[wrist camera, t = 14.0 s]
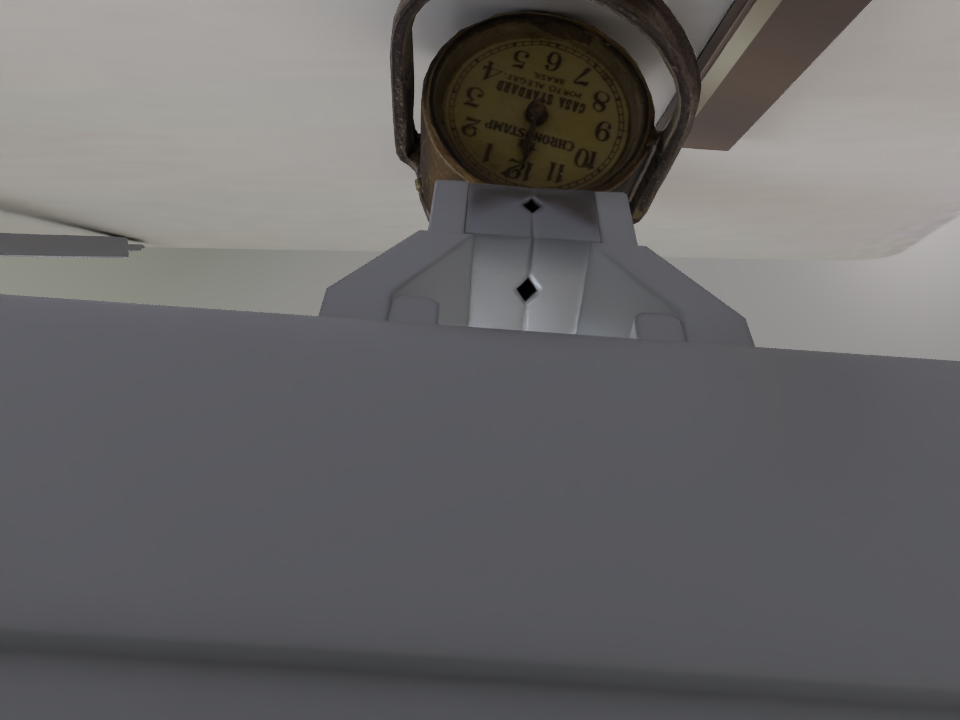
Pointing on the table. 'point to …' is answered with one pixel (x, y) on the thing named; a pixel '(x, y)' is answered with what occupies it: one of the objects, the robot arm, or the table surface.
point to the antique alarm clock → (543, 104)
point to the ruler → (758, 62)
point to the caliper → (65, 246)
